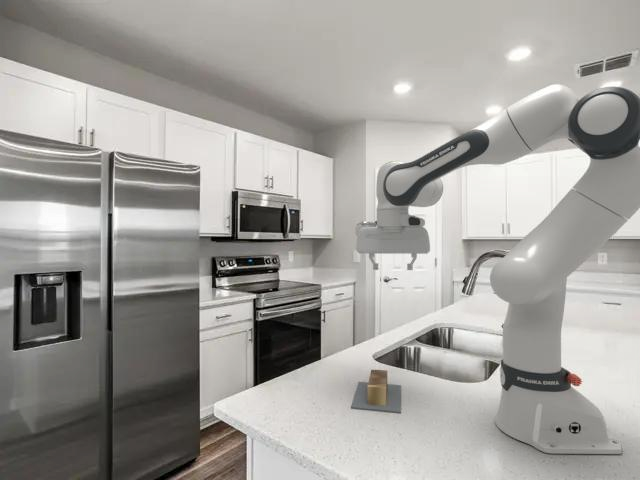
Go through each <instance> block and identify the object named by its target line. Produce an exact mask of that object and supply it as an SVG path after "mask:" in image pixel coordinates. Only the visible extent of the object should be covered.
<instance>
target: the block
mask: <svg viewBox="0 0 640 480" xmlns="http://www.w3.org/2000/svg"><path fill="white" fill-rule="evenodd" d="M387 384H388V370H383V369H370V374H369V378H368V386H367V389H368V404H369V405H379V406H386V398H387Z"/></svg>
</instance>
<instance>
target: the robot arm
mask: <svg viewBox="0 0 640 480" xmlns="http://www.w3.org/2000/svg"><path fill="white" fill-rule="evenodd" d="M559 139H567V140H568V141H570V143H572V144H573V145H574V146H575V147H576V148H578V150H580V151H582V152H583V153H585V154H586V155H587V156H588V157H589V159H590V161H589V166H588V167H587V169H586V170H585V172H584V174H583V175H581V177H580V179H578V181H577V182H576V183H575V184H573V186H572V188H570V189H569V191H568V192H567V193H566V194H565V195H564V197H563V198H561V200H559V202H558V203H557V204H556V205H555V207H554V208H553V209H552V210H551V211H550V212H549V213H548V214H547V216H546V217H545V218H544V219H543V220H542V221H540V223H539V224H538V225H536V226H535V227H534V228H533V229H531V231H529V233H527V235H525V236H524V237H523V238H522V239H521V240H520V241H518V242H517V244H516V245H514V247H513V248H511V249H510V250H509V251H508V252H507V253H506V254H505V256H503V257H502V258H501V259H500V260H498V261H497V263H496V264H494V265H493V267H492V269H491V272H490V276H489V283H490V286H491V288H492V291H493V292H494V293H495V295H496V296H497V297H498V298H499V299H501V300H502V301H504V302H507V303H508V307H507V311H506V316H505V319H504V322H503V325H502V359H501V360H500V369H499V372H500V373H499V375H500V377H499V378H500V384H501V395H500V399H499V407H498V410H497V413H496V415H495V420H494V422H495V425H496V426H497V428H498V429H499V430H500V431H502V432H503V433H505V434H506V435H508V436H509V437H511V438H513V439H515V440H518V441H521V442H523V443H525V444H527V445H530V446H532V447H534V448H535V449H536V450H539V451H541V452H543V453H546V454H559V455H560V454H561V455H563V454H566V455H567V454H569V455H570V454H571V455H572V454H575V455H622V453H623V445H622V442H621V441H620V439H619V438H618V437H617V436H616V434H615V433H613V431H612V430H610V429H609V427H608V428H607V424H606V420H605V417H604V414H603V413H602V412H601V410H600V408H599V407H598V406H596V405H595V404H594V403H593V402H592V401H591V400H590V399H588V398H587V397H586V396H584V395H583V394H582V393H580V392H579V391H578V390H577V389H576V388H574V387H580V386H581V385H583V384H582V382H583V381H582V378H580V377H579V376H578V375H577V374H575V373H572V372H570V371H569V370H567V369H566V368H564V367H562V327H563V320H564V312H565V304H566V294H567V293H566V292H567V280H568V277H569V276H570V275H571V274H573V273H574V272H575V271H576V270H577V269H578V268H579V267H580V266H582V265H583V263H585V262H586V261H587V260H589V259H590V258H591V257H592V256H593V255H594V254H596V253H597V252H598V251H599V250H600V249H601V248H602V247H603V246H604V245H605V244H606V243H607V242H608V241H609V240H610V239H611V238H612V237H613V236H614V235H615V234H616V233H617V232H618V231H619V230H620V229H621V228H622V227H623V226H624V225H625V224H626V223H627V222H628V220H631V218H632V217H633V216H634V215H635V214H636V213H637V211H638V210H640V146H639V143H640V97H639V95H637V94H636V93H635V92H634V91H632V90H630V89H628V88H624V87H621V86H605V87H600V88H597V89H594V90H592V91H590V92H588V93H587V94H585V95H584V96H583V97H581V98H579V97H578V95H577V94H576V93H575V91H573V89H571V88H570V87H568V86H566V85H563V84H559V83H555V84H551V85H548V86H546V87H544V88H541V89H539V90H537V91H535V92H533V93H530V94H529V95H527V96H525V97H522V98H521V99H519V100H518V101H516V102H514V103H512V104H511V105H510V106H507V107H506V108H505V109H503V110H501V111H500V112H499V113H497V114H495V115H494V116H492V117H491V118H489V119H488V120H486V121H483V123H481V124H480V125H477V126H475V127H474V128H472V129H470V130H469V131H466V132H464V133H462V134H460V135H458V136H457V137H454V138H452V139H451V140H449V141H448V142H446V143H444V144H442V145H440V146H439V147H437V148H434V149H433V150H431V151H429V152H428V153H426V154H423V156H420V157H419V158H417V159H415V160H413V161H410V162H409V161H408V162H405V161H400V160H396V161H389V162H386V163H384V164H382V165H381V166H380V167H379V169H378V171H377V176H376V190H375V191H376V193H375V194H376V195H375V196H376V199H377V205H376V220H370V221H365V220H361V221H360V222H359V223H357V224H356V226H355V236H356V237H357V238H356V248H355V250H356V252H357V253H358V254H368V258H369V260H370V262H371V264H372V270H373V271H377V270H378V271H379V269H380V268H379V263H378V262H376V261H375V260H374V258H375V254H385V255H386V254H387V255H388V254H389V255H390V254H392V255H393V254H396V255H397V254H399V255H400V254H401V255H402V254H411V255H410V256H411V258H412V259H411V261H410V263H406V265H407V267H406V270H407V271H413V268H414V265H413V264H414V263H415V261H416V260H417V257H418V254H420V255H421V254H423V255H425V254H426V255H427V254H428V253H430V251H431V243H430V242H431V241H430V236H429V232H428V230H427V228H426V227H425V225H426V221H425V219H424V218H423V217H420V216H416V215H413V214H412V215H411V214H410V213H409V209H410V207H415V208H416V207H418V208H427V207H431V206H434V205H435V204H437V203H438V202H439V201H440V199H441V198H442V195H443V193H444V185H443V181H442V179H441V178H443V177H445V176H446V175H448V174H450V173H452V172H454V171H456V170H459V169H461V168H464V167H468V166H474V165H494V166H495V165H497V166H500V165H504V164H507V163H510V162H512V161H516V160H518V159H520V158H522V157H524V156H526V155H528V154H531V153H532V152H533V151H536V150H537V149H540V148H541V147H542V146H544V145H547V144H549V143H551V142H553V141H556V140H559ZM573 386H574V387H573Z"/></svg>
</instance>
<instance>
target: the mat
mask: <svg viewBox="0 0 640 480" xmlns="http://www.w3.org/2000/svg"><path fill="white" fill-rule="evenodd" d="M368 382H369V381H368ZM368 382H367V381H358V383H357V386H356V389H355V393H354V396H353V399H352V403H351V405H350V408H351V409H353V410H363V411H364V410H365V411H371V412H374V411H375V412H384V413H395V414H401V413H402V385H401V384H393V383H387V398H386V406H379V405H369V404H368V389H367V386H368Z"/></svg>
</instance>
